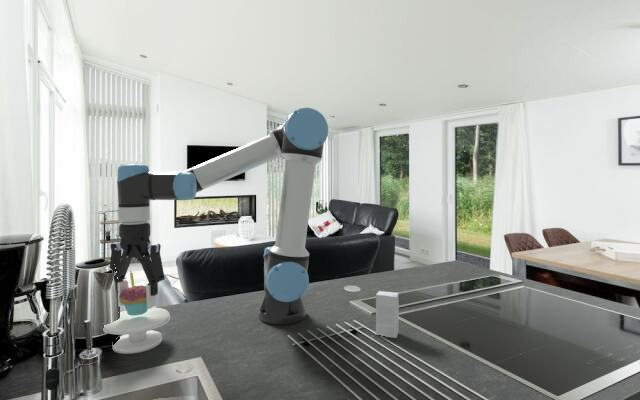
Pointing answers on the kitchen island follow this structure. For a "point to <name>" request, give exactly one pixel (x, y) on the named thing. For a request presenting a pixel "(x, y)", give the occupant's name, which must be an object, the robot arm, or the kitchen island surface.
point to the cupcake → (134, 299)
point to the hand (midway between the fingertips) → (137, 305)
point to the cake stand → (138, 330)
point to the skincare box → (387, 314)
